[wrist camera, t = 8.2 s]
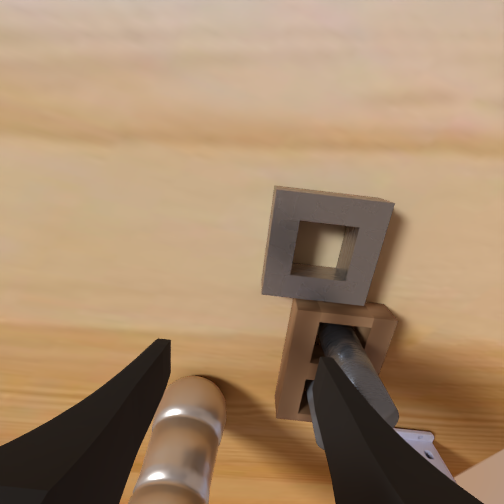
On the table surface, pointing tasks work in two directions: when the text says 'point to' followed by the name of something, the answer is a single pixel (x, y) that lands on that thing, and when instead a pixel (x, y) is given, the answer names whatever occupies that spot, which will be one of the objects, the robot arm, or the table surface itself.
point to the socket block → (352, 251)
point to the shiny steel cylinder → (357, 367)
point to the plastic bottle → (182, 444)
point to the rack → (308, 355)
